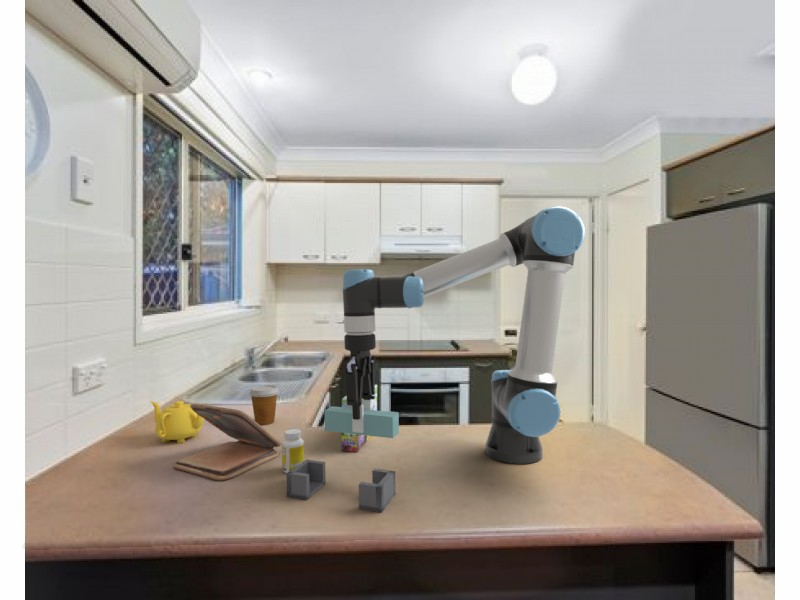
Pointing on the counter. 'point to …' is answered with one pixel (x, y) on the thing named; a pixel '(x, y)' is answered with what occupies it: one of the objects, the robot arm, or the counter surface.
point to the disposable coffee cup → (264, 403)
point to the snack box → (355, 440)
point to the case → (230, 445)
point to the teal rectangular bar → (373, 422)
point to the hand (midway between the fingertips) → (362, 428)
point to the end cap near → (377, 491)
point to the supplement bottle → (292, 450)
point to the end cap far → (305, 479)
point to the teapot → (177, 422)
